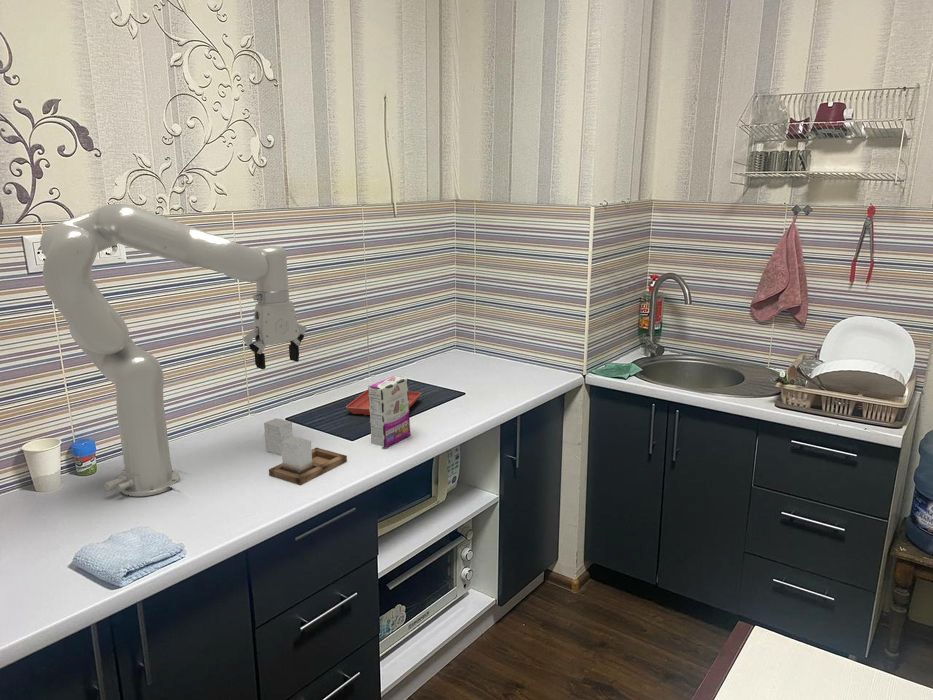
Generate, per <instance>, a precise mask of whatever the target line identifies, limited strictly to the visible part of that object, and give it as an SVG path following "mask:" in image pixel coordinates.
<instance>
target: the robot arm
mask: <svg viewBox="0 0 933 700" xmlns="http://www.w3.org/2000/svg"><path fill="white" fill-rule="evenodd" d="M40 237H41V238H40V240H39V241H40V244H39V246H40V250H41V252H42V254H43V256H45V259H44V262H43V268H42V281H43V286H44V288H45V292H46V294H47V296H48V297H49V299H50V301H51V302H52V303H53V305H54V306H55V308H56V309H57V310H58V311H59V313H60V314H61V315H62V317H63V318H64V319H65V321H66V322H67V323H68V325H69V326H68V327H69V334H70V336H71V337H72V339H73V341H74V342H75V343H76V345H77V346H78V347H79V348H80V349H81V350H82V352H83V353H84V354H85V355H86V357H87V358H88V359H89V360H90V361H91V363H93V365H94V366H95V367H96V368H97V369H98V371H100V373H101V374H102V375H103V376H104V377H105V378H106V379H107V380H108V381H109V382H111V383H112V384H113V385H115V391H116V393H115V394H116V395H115V396H116V399H115V400H116V416H117V423H118V430H119V436H120V445H121V451H122V458H123V465H124V469H123V470H120V472H119V473H120V475H119V476H118V477H117V478H116V479H111V480H110V481H107V482H104V484H103V486H104V489H105V491H107V492H110V491H113V490H115V489H117V491H119V492H120V493H121V492H122V494H123V495H125V496H128V495H129V497H147V496H149V497H150V496H153V495H159V494H162V493H165V492H168V491H169V490H171V489H173V487H172V486H173V485H175V484H177V483H179V482H180V481H181V476H180V473H179V472H178V471H176V470H173V469H172V461H171V453H170V445H169V435H168V430H167V429H168V428H167V421H166V413H165V404H164V382H165V380H164V370H163V367H162V366H161V363H160V362H159V360H158V359H157V358H156V357H155V356H154V355H152V354H151V353H149V352H148V351H147V350H144V349H143V348H140V347H139V346H138V345H137V344H136V343H135V342H134V340H133V339H132V338H131V336H130V332H129V331H130V330H129V328H128V325H127V323H126V321H125V320H124V319H123V318H122V316H121V315H120V314H119V313H118V312H117V310H115V308H113V305H112V304H110V302H109V301H108V300H107V299H106V297H105V296H104V295H103V293H102V292H101V291H100V289H99V288H98V286H97V285H96V283H95V281H94V279H93V275H92V269H93V264H94V263H95V260H96V258H97V255H98V253H100V252H103V251H105V250H107V249H109V248H111V247H114V246H115V245H118V244H120V245H122V246H126V247H129V248H131V249H133V250H134V249H135V250H138V251H142V252H145V253H148V254H150V255H154V256H158V257H159V258H163V259H166V260H168V261H172V262H175V263H179V264H181V265H186V266H191V267H197V268H202V269H206V270H210V271H213V272H218V273H220V274H224V275H225V276H227V277H229V278H231V279H235V280H239V281H243V282H247V283H256V292H255V293H256V294H253V295H252V299H253V301H256V302H257V303H255V305H254V306H255V308H254V314H253V315H254V316H253V329H252V330H251V331H250V332H248V333H246V335H244V336H243V339H242V340H243V341H244V343H245V345H246V346H247V348H248V349H249V350H251V351H252V353H254V364H255V366H256V368H257V369H260V370H265V369H266V355H265V353H263V352H264V351H265V348H266V347H267V346H274V345H279V344H285V343H289V345H288V353H289V360H290V361H292V362H296V363H297V362H299V361H300V348H299V346H301V344H302V341H303V340H304V338H305V334H306V331H307V326H304V325H303V324H299V323H298V320H297V313H296V309H295V306H294V303H293V301H292V300H290V292H289V276H288V261H287V251H286V249H285V248H284V247H283V246H277V245H267V246H266V245H265V246H258V247H250V246H247V245H244V244H240V243H238V242H235V241H232V240H229V239H226V238H223V237H220V236H217V235H215V234H211V233H208V232H206V231H205V230H202V229H199V228H196V227H194V226H191V225H187V224H184V223H182V222H179V221H178V220H173V219H171V218H168V217H165V216H162V215H160V214H157V213H154V212H152V211H148V210H146V209H143V208H142V207H141V208H140V207H137V206H135V205H131V204H126V203H108V204H106V205H103V206H99V207H98V208H96V209H92V210H90V211H88V212H85V213H83V214H80V215H76V216H75V217H72V218H68V219H67V220H64V221H63V220H62V221H61V222H58V223H56V224H53V225H51V226H50V227H48V228H47V229H46V230H45V231H44V232H43V233H42V235H41V236H40ZM253 339H254V341H255V343H254V342H253Z"/></svg>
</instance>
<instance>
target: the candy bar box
mask: <svg viewBox="0 0 933 700" xmlns="http://www.w3.org/2000/svg"><path fill="white" fill-rule="evenodd" d="M408 380H409V378H408V377H404V376H398V375H392V376H390V377H388V378H384V379H383V380H381V381H378V382H376V383H373V384H371V385H368V386H367V390H368V393H369V410H370V416H369V423H370V437H371V438H370V439H371V440H370V441H371V444H372V445H376V446H380V447H381V448H382V449H387V448H389V447H391V446H393V445H395V444H397V443H399V442H401V441H402V440H405V439H407V437H410V436H411V425H410V424H411V421H410V420H411V419H410V408H409V397H408V392H409V381H408Z"/></svg>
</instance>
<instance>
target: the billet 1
mask: <svg viewBox="0 0 933 700" xmlns="http://www.w3.org/2000/svg"><path fill="white" fill-rule="evenodd" d="M263 425H264V439H265V449H266V450H265V452H267V453H270V454H273V455H277V456H280V457H282V449H281V442H282V441H284V440H286V439H289V438H291V437H293V423H292V421H289V420H285V419H281V418H277V417H276V418H273V419H270V420H268V421H265V422H263Z"/></svg>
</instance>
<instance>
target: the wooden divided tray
mask: <svg viewBox="0 0 933 700" xmlns="http://www.w3.org/2000/svg"><path fill="white" fill-rule="evenodd" d="M311 450H312V465H313V469H311V470H309V471H307V472H305V473H303V474H301V475H298V474H295V473H291V472H288V471H285V470H283V462H282V463H279V464H277V465H275V466H273V467H271V468H268V475H269V477H273V478H276V479H279V480H281V481H285V482H289V483H292V484H294V485H299V486H302V485H304V484H306V483H308V482H309V481H311V480H314V479H316V478H318V477H319V476H321V475H324V474H326V473H328V472H329V471H332V470H333V469H336V468H338V467H339V466H341V465H343V464H345V463H347V462H348V455H346V454H342V453H338V452H335V451H331V450H329V449H328V450H327V449H324V448H320V447H314V448H311Z"/></svg>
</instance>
